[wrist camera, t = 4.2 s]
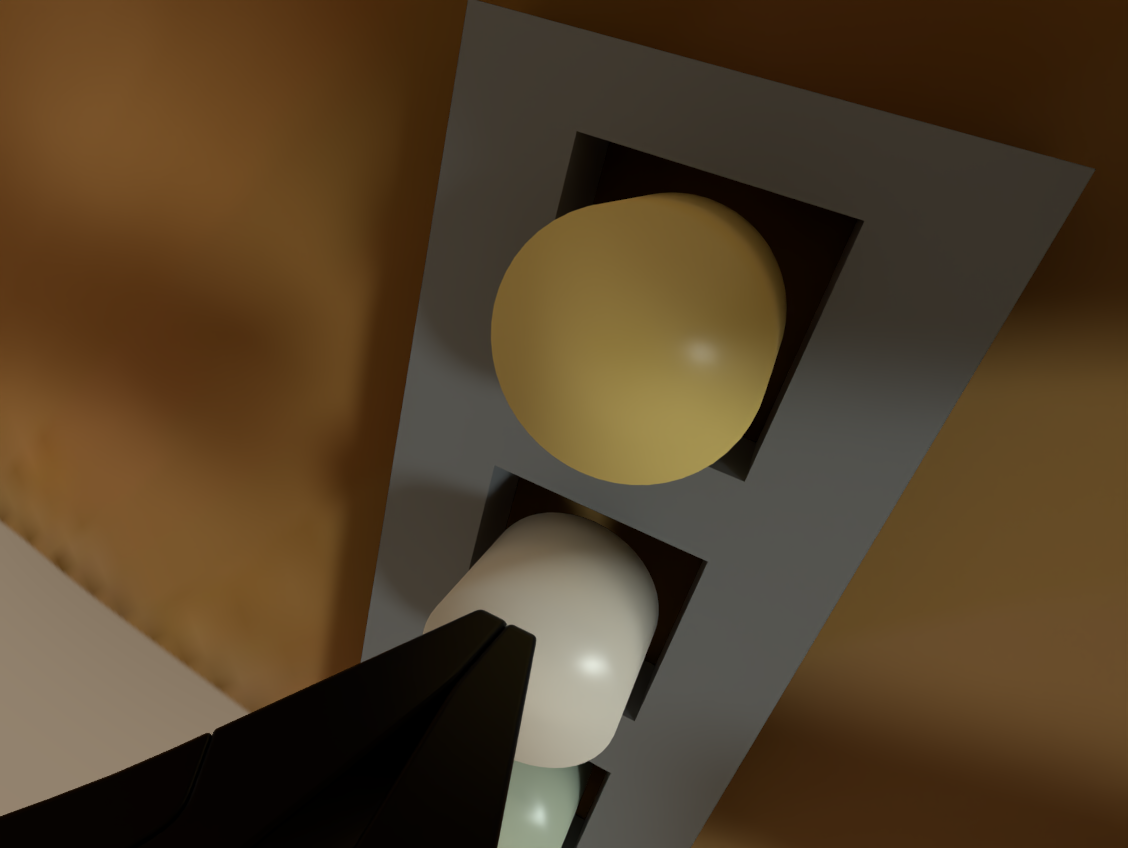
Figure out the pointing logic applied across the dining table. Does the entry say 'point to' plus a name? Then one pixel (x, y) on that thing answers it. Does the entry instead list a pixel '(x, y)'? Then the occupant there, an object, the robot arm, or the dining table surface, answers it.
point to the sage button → (541, 804)
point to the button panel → (748, 470)
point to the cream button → (565, 628)
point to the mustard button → (639, 335)
